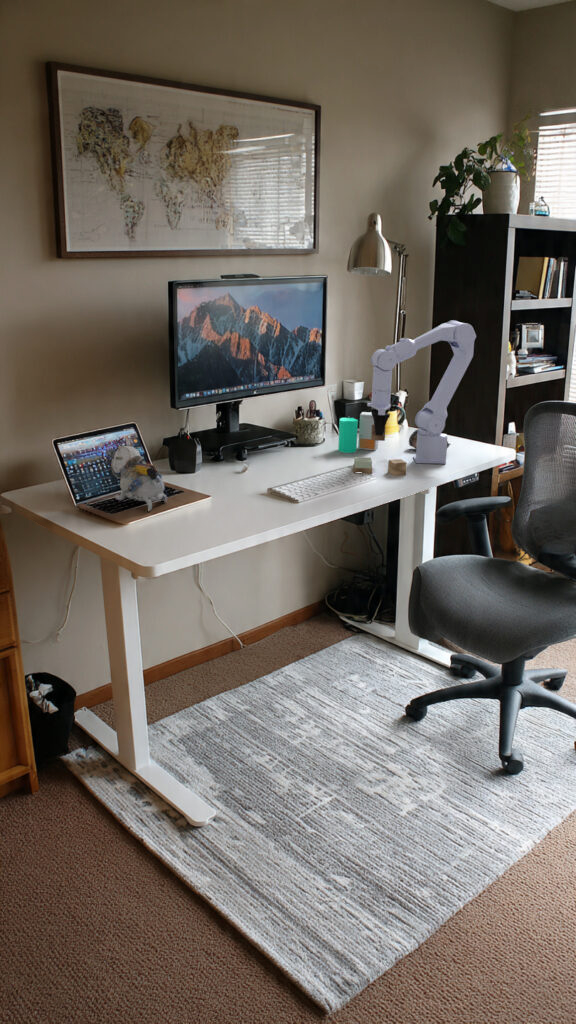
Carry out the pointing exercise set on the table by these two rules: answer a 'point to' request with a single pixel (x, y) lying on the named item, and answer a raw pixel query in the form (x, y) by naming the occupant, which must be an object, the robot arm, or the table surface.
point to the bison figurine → (414, 440)
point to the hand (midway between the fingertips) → (378, 433)
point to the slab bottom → (363, 470)
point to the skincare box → (366, 432)
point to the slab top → (362, 462)
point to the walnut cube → (377, 437)
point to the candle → (348, 435)
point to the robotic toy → (136, 476)
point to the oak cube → (397, 467)
